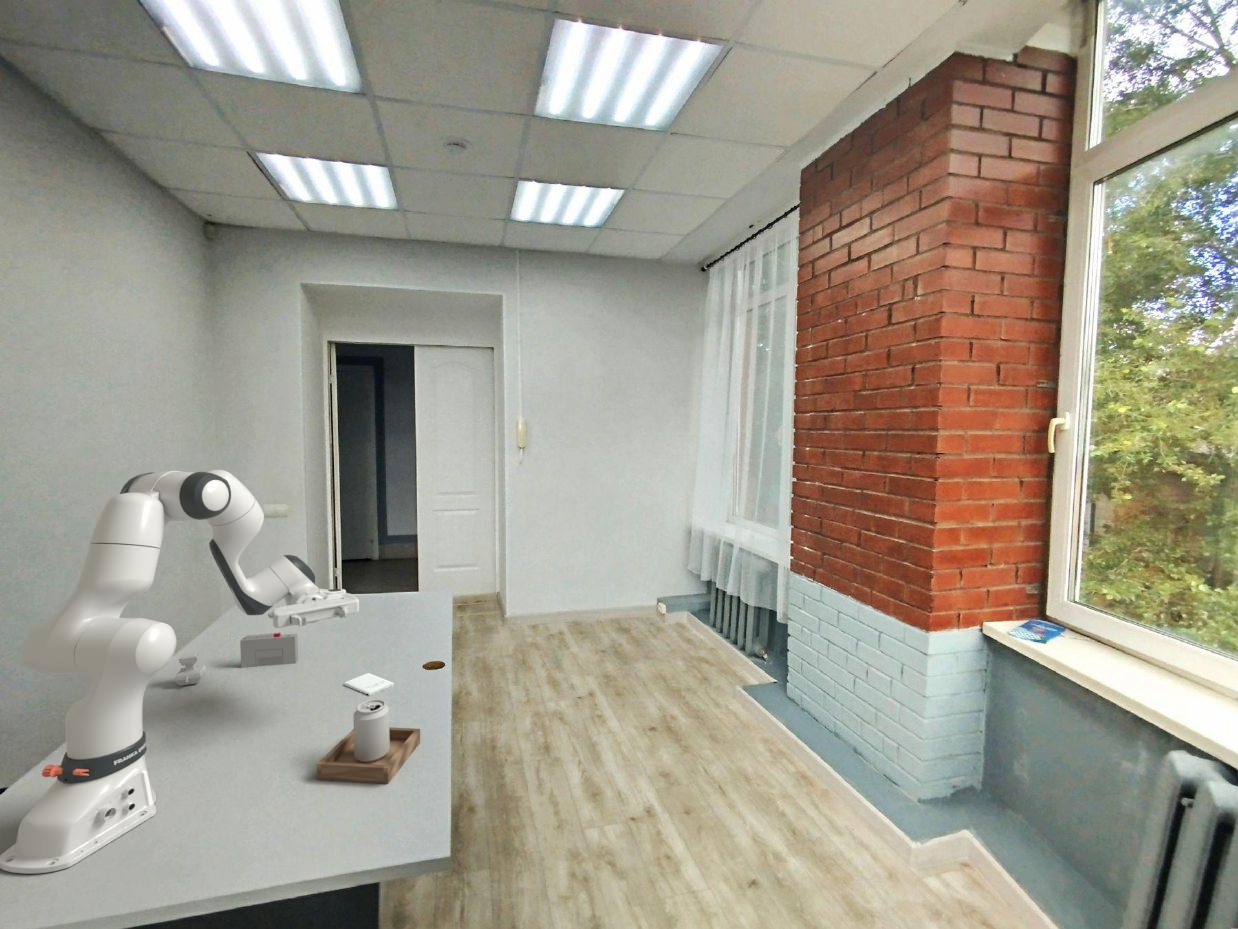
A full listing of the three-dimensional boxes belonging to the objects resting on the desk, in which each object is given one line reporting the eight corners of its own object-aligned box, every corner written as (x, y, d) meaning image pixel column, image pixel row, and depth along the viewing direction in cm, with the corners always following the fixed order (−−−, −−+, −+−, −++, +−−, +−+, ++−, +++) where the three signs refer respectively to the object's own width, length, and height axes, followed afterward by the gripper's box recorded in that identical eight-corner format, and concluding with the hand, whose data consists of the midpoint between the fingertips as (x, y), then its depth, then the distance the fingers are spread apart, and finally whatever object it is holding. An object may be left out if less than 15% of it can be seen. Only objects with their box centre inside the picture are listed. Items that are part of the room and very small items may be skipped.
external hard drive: (369, 677, 174) (394, 687, 167) (344, 687, 167) (369, 698, 161) (369, 672, 174) (394, 682, 167) (344, 682, 167) (369, 692, 160)
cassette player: (298, 660, 185) (297, 630, 185) (295, 663, 183) (294, 633, 182) (244, 664, 181) (243, 634, 181) (241, 668, 179) (240, 637, 178)
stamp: (200, 687, 165) (199, 659, 165) (172, 691, 163) (171, 662, 162) (208, 674, 174) (207, 648, 173) (181, 678, 171) (180, 651, 170)
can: (377, 766, 125) (376, 714, 125) (347, 762, 127) (346, 711, 126) (396, 748, 133) (395, 698, 132) (367, 744, 134) (366, 695, 133)
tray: (388, 783, 121) (387, 768, 121) (317, 779, 122) (316, 764, 122) (420, 742, 137) (420, 729, 137) (357, 739, 138) (356, 725, 138)
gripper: (266, 601, 146) (276, 615, 136) (350, 587, 160) (365, 599, 149) (267, 625, 147) (276, 640, 136) (350, 609, 160) (365, 622, 149)
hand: (323, 618), depth 143 cm, fingers open, 8 cm apart
